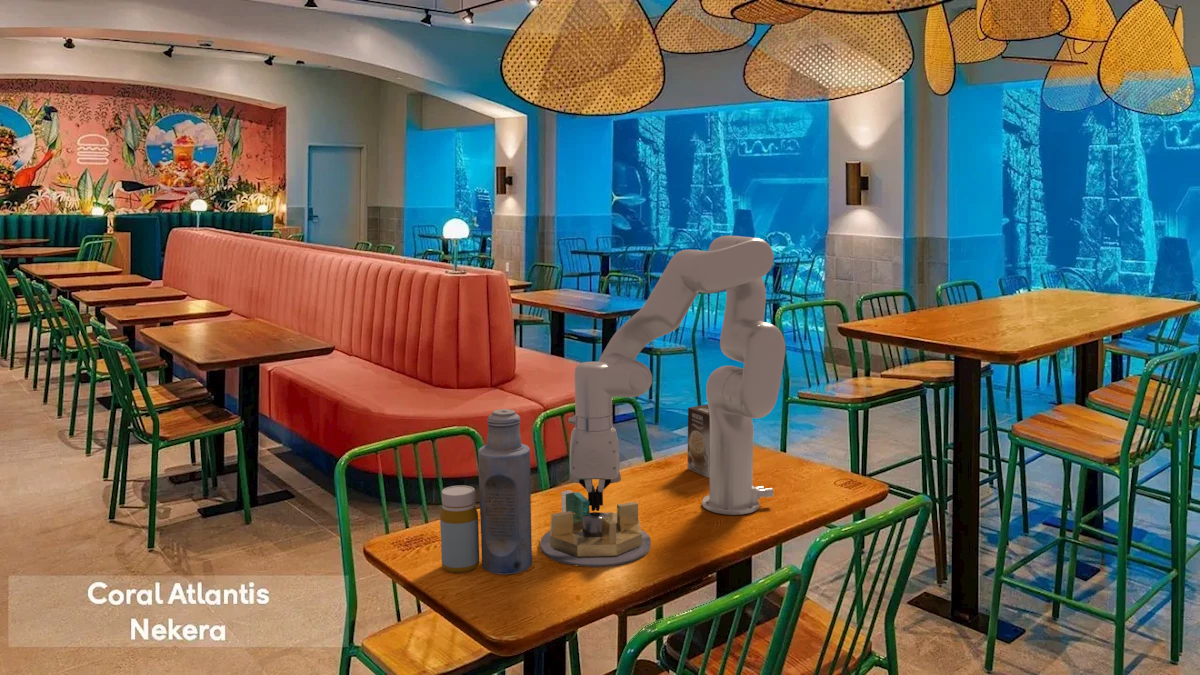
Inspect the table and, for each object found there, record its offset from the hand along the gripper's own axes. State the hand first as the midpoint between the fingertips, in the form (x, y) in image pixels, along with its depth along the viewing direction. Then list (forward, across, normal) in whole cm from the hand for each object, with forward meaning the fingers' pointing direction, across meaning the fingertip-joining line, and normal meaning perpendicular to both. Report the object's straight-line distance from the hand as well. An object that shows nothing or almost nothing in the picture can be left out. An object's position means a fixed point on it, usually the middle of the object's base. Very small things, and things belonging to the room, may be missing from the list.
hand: (595, 508), depth 195 cm
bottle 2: (+5, -16, -18) cm, 25 cm away
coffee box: (+6, +25, +42) cm, 50 cm away
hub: (+5, 0, -8) cm, 9 cm away
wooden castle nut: (+4, 0, -7) cm, 8 cm away
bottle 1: (+5, -24, -19) cm, 32 cm away
